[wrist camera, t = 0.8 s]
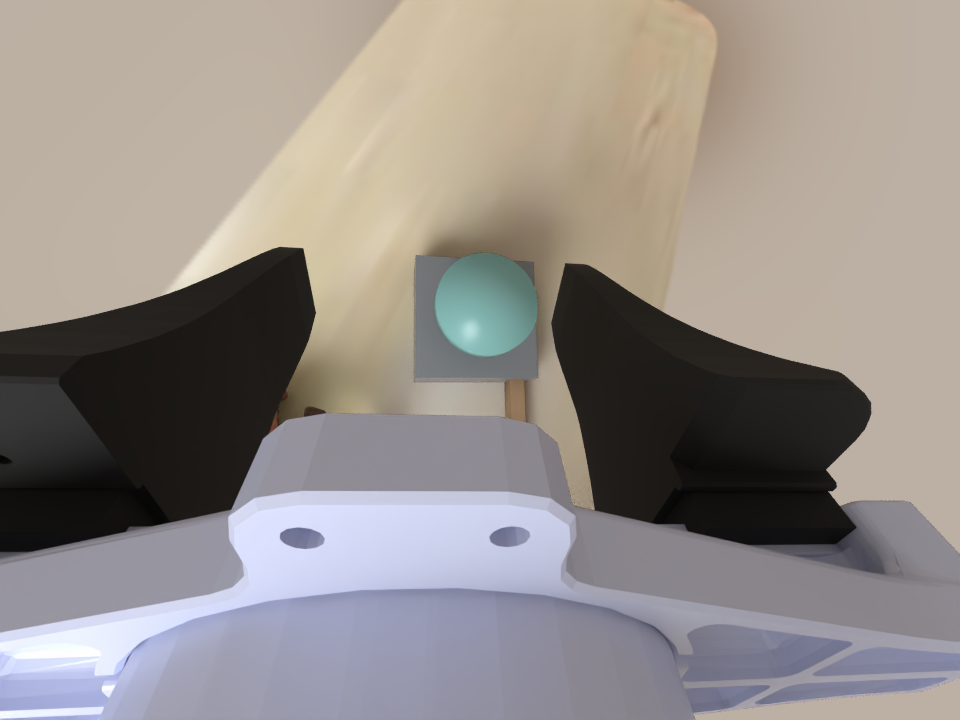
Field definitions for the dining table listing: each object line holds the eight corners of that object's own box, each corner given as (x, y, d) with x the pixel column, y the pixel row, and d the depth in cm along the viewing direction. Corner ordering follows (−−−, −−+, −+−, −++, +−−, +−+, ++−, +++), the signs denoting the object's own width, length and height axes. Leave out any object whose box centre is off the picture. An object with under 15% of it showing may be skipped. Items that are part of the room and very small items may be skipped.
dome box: (524, 382, 30) (538, 377, 27) (413, 382, 29) (415, 377, 26) (520, 276, 31) (533, 261, 29) (414, 271, 30) (415, 255, 27)
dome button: (518, 364, 28) (540, 354, 24) (430, 364, 27) (436, 353, 23) (515, 280, 29) (536, 255, 25) (430, 276, 28) (436, 249, 24)
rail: (524, 572, 28) (531, 580, 27) (510, 573, 28) (516, 581, 27) (517, 368, 30) (523, 365, 29) (504, 368, 30) (509, 365, 29)
